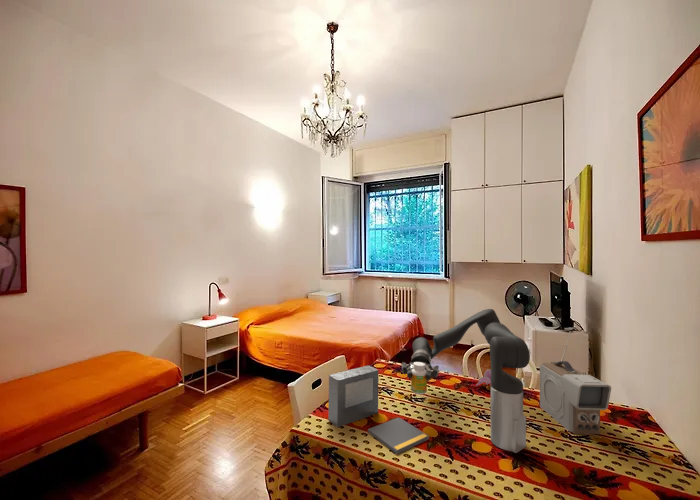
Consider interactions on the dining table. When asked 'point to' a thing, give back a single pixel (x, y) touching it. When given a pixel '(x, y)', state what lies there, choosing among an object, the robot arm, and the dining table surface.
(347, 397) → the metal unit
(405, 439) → the mat
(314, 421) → the dining table surface
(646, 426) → the dining table surface
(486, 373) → the lily
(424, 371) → the supplement bottle
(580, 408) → the portable television
